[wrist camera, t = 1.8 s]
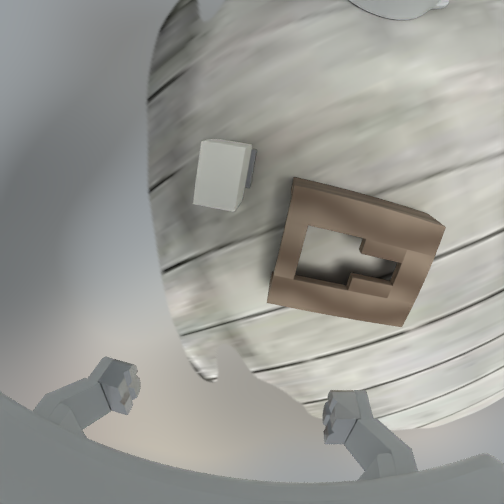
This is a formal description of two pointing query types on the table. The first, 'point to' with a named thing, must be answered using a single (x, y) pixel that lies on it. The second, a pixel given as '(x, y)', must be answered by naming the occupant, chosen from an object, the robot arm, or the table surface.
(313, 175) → the table surface
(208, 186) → the gray rectangular block
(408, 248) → the brown open frame
